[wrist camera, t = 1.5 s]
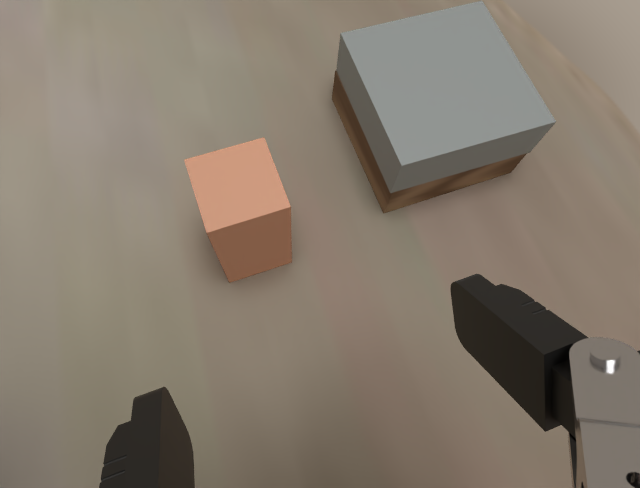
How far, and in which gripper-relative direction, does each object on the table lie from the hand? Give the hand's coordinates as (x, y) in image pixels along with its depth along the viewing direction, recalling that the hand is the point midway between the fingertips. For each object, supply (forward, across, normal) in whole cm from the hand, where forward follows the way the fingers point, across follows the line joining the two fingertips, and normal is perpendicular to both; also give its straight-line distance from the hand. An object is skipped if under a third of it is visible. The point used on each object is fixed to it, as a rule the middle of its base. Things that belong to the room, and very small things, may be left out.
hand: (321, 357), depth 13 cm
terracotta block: (+24, 0, +7) cm, 25 cm away
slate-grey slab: (+25, -17, +1) cm, 30 cm away
